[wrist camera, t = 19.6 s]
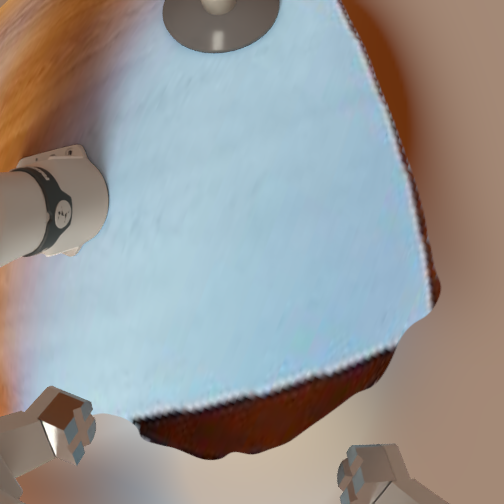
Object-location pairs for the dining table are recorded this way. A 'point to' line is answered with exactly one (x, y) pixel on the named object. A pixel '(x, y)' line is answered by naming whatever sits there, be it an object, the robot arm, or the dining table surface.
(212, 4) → the candle
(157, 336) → the dining table surface
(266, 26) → the plate
